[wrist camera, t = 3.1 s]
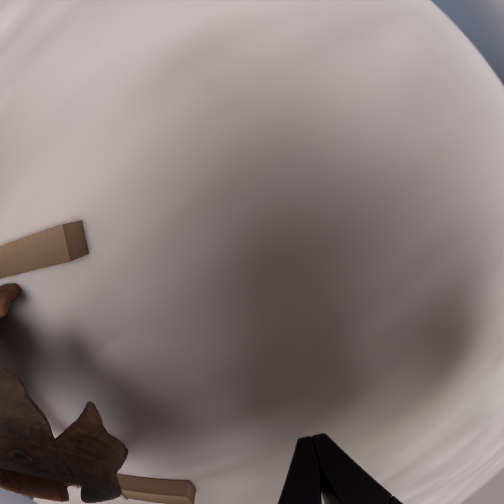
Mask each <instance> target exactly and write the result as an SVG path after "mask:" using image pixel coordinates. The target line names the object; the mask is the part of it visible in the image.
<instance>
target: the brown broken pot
mask: <svg viewBox="0 0 504 504" xmlns="http://www.w3.org/2000/svg"><path fill="white" fill-rule="evenodd" d="M19 291H20V289H19V286H18V285H17V284H6V285H3V286H0V317H3V316H5V315H6V314H7V312H8V309H9V302H10V301H12V300H13V299H14V298H15V297H16V296H17V295H18V293H19ZM127 455H128V450H127V449H126V448H125V445H124V444H123V443H122V442H121V441H120V440H119V439H117V438H116V437H113V436H112V435H110V434H109V433H108V432H107V431H106V429H105V428H104V426H103V424H102V419H101V417H100V415H99V412H98V411H97V409H96V407H95V405H94V403H92V402H88V403H87V404H86V407H85V409H84V411H83V412H82V413H81V415H80V417H79V418H78V419H77V420H76V421H75V422H73V423H72V424H71V425H70V426H69V427H68V428H67V429H66V430H65V431H64V432H63V433H62V434H60V435H59V436H58V437H57V438H54V436H53V434H52V430H51V427H50V424H49V422H48V420H47V418H46V417H45V415H44V414H43V412H42V411H41V410H40V409H39V407H38V406H37V405H36V404H35V403H34V402H33V401H32V399H31V398H30V397H29V395H28V394H27V392H26V390H25V388H24V386H23V384H22V383H21V381H20V380H19V379H18V378H16V377H15V376H14V375H12V374H11V373H9V372H8V371H6V370H4V369H0V487H1V488H3V489H6V490H9V491H13V492H15V493H19V494H22V495H26V496H30V497H36V498H40V499H47V500H53V501H60V502H64V501H69V494H68V491H67V487H68V486H79V485H80V486H82V487H81V499H82V501H83V502H85V503H96V502H102V501H107V500H112V499H115V498H117V497H119V496H121V494H122V490H121V487H120V485H119V482H118V478H117V475H116V474H117V472H118V470H119V469H120V468H121V467H122V465H123V463H124V462H125V460H126V458H127Z"/></svg>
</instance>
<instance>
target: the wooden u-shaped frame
mask: <svg viewBox="0 0 504 504" xmlns="http://www.w3.org/2000/svg"><path fill="white" fill-rule="evenodd" d="M86 254H88V250H87V245H86V241H85V237H84V232H83V228H82V223H81V221H76V222H72V223H67V224H63V225H59V226H56V227H53V228H50V229H47V230H44V231H41V232H38V233H36V234H33V235H30V236H27V237H24V238H22V239H19V240H16V241H13V242H11V243H8V244H6V245H3V246H0V279H1V278H5V277H9V276H13V275H17V274H21V273H25V272H29V271H33V270H37V269H41V268H45V267H49V266H53V265H57V264H62V263H66V262H70V261H73V260H75V259H77V258H79V257H82V256H84V255H86ZM116 475H117V478H118V482H119V485H120V487H121V490H122V494H121V496H119V497H120V498H121V499H123V500H127V499H128V498H129V499H135V500H141V501H148V502H156V503H165V504H194V499H195V492H196V490H195V488H194V487H193V486H192V484H191V483H190V481H179V480H162V479H150V478H141V477H133V476H126V475H119V474H116ZM73 487H75V488H79V487H82V486H80V485H79V486H73ZM21 495H22V494H21ZM23 496H25V497H27V498H29V499H31V500H33V498H34V497H30V496H26V495H23Z"/></svg>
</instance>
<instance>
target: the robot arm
mask: <svg viewBox="0 0 504 504" xmlns="http://www.w3.org/2000/svg"><path fill="white" fill-rule="evenodd" d="M321 494H322V497H323V500H324V502H325V504H403V503H402V502H400V501H399V500H398V499H397V498H395V497H394V496H392V494H391V493H389V492H388V491H387V490H386V489H385V488H384V487H382V486H381V485H380V484H379V483H378V482H377V481H376V480H374V479H373V478H372V477H371V476H370V475H369V474H368V473H367V472H365V471H364V470H363V469H362V468H361V467H360V466H359V465H358V464H357V463H356V462H355V461H354V460H352V459H351V458H350V457H349V456H348V455H347V454H346V453H345V452H344V451H343V450H342V449H341V448H340V447H339V446H338V445H337V444H336V443H335V442H334V441H333V440H332V439H331V438H330V437H329V436H328V435H326V434H325V433H321V434H316V435H313V436H312V437H311V436H307V437H302V438H299V439H298V440H297V444H296V447H295V451H294V454H293V458H292V461H291V464H290V468H289V471H288V474H287V477H286V481H285V484H284V487H283V490H282V493H281V496H280V499H279V502H278V504H322V499H321Z"/></svg>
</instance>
